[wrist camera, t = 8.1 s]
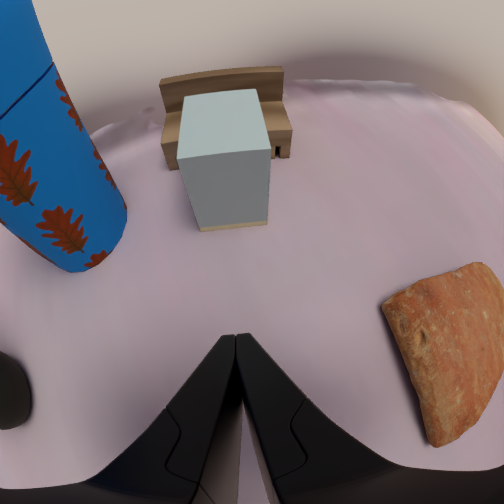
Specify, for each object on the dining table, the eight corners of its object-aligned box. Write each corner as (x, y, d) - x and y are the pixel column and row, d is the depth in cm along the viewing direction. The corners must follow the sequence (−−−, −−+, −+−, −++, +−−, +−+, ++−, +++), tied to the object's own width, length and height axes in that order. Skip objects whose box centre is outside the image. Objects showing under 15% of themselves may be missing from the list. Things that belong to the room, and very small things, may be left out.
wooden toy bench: (289, 157, 28) (296, 96, 21) (169, 170, 28) (150, 112, 21) (278, 120, 31) (281, 66, 24) (175, 131, 31) (161, 79, 24)
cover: (266, 225, 25) (271, 148, 16) (200, 232, 24) (176, 159, 16) (251, 133, 30) (249, 66, 22) (201, 139, 30) (188, 73, 22)
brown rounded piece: (541, 363, 12) (438, 458, 12) (506, 362, 18) (408, 435, 18) (508, 227, 16) (396, 293, 17) (474, 247, 23) (369, 303, 23)
